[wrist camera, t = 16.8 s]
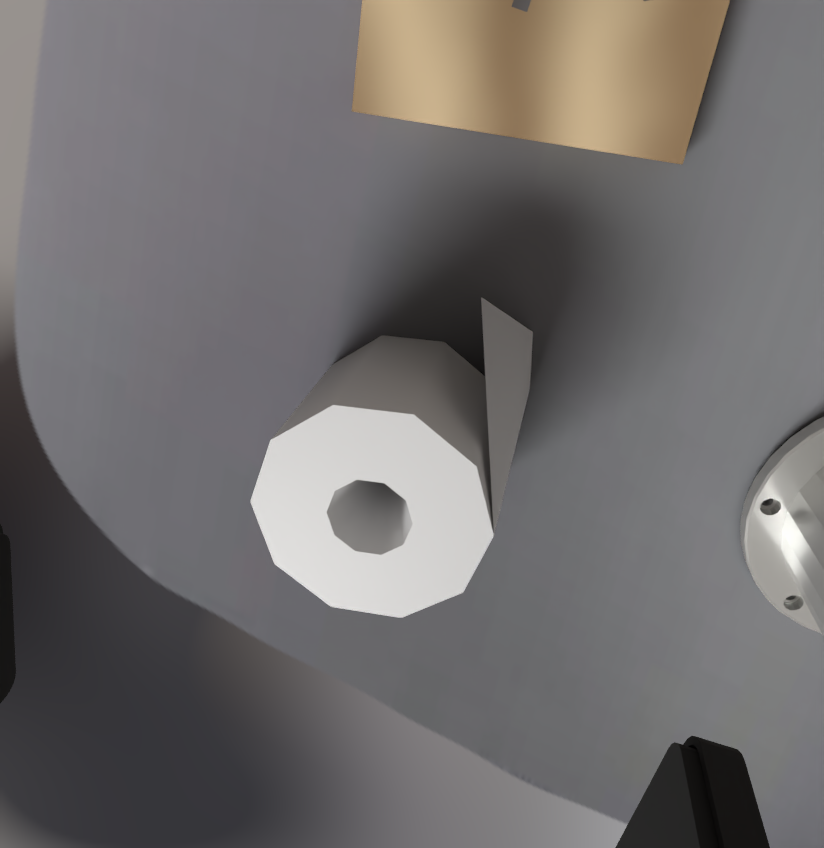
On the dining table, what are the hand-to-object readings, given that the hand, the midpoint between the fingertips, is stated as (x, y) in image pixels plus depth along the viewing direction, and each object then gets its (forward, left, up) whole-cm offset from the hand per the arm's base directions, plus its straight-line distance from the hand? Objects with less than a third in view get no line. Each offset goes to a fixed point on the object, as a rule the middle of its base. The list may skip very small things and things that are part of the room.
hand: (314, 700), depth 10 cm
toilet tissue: (+1, +6, -24) cm, 25 cm away
